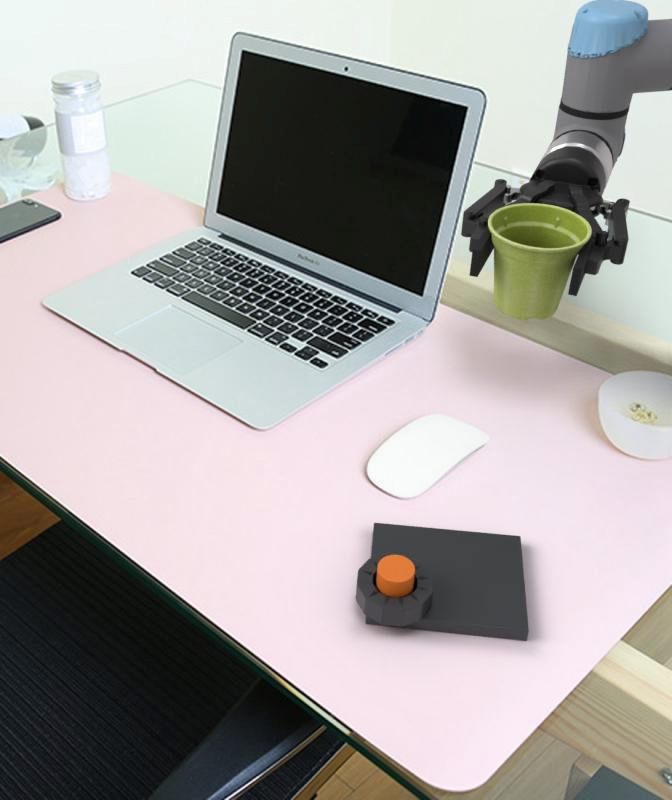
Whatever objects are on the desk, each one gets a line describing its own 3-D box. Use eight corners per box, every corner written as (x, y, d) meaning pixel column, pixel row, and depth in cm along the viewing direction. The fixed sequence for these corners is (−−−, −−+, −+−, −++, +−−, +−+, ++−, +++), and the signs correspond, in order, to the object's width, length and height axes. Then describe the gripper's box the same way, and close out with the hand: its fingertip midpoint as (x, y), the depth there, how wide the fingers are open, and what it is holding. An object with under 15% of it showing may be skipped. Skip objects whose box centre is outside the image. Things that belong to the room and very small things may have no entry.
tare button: (413, 572, 73) (415, 556, 72) (412, 600, 71) (414, 583, 70) (377, 568, 73) (378, 552, 72) (375, 596, 71) (376, 580, 70)
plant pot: (591, 301, 94) (609, 220, 89) (548, 342, 88) (564, 258, 83) (506, 272, 99) (517, 194, 93) (459, 309, 93) (469, 228, 88)
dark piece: (518, 546, 79) (523, 519, 77) (527, 651, 70) (533, 624, 68) (363, 531, 80) (364, 505, 79) (352, 632, 72) (354, 605, 70)
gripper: (665, 227, 101) (636, 332, 85) (470, 195, 109) (409, 286, 92) (682, 160, 97) (655, 256, 80) (477, 131, 104) (414, 215, 88)
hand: (524, 272), depth 86 cm, fingers closed on plant pot, 8 cm apart
